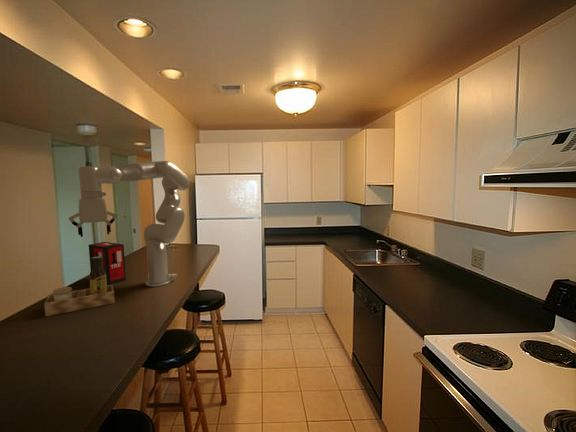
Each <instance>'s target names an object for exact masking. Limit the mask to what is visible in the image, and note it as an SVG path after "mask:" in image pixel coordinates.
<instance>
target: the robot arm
mask: <svg viewBox="0 0 576 432" xmlns="http://www.w3.org/2000/svg"><path fill="white" fill-rule="evenodd" d="M78 178H79V179H78V180H79V188H80V198H81V199H80V198H79V200H78V212H77V213H75V214H73V215H71V216H69V217H68V220H69V222H71V224H72V225H73V226H75V227H76V228H77V232H78V236H80V238H82V237H83V236H84V233H83V224H84V223H85V224H86V223H87V224H88V223H100V222H101V223H102V222H104V223H105V224H106V234H107V235H110V233H111V232H112V230H111V229H112V228H111V225H112V224H113V223H114V222H115V220H116V219H117V217H118V216H117V215H118V214H115V213H113V212H110V211H108V210H107V203H106V199H105V198H104V197H105V196H107V193H106V192H103V189H102V185H103V184H116V183H119V182H137V181H145V180H146V181H147V180H151V179H161V178H162V179H161V185H162V187H163V191H164V198H163V199H162V201H161V203H160V206H159V207H158V209H157V211H156V214H155V220H156V221H157V222H158V223H151V224H148V225H147V226H146V227H145V228H144V230H143V238H144V242H145V246H146V247H145V248H146V260H147V276H148V280H147V279H146V281H145V282H144V283H145V285H146V286H148V287H162V286H165V285H168V284H170V283H172V278H177V277H178V273H169V271H168V256H167V254H168V253H167V252H168V251H167V245H166V244H171V243H173V242H174V241H175V240H176V238H177V236H178V235H179V232H180V230H181V228H182V226H183V224H184V222H185V217H186V215H185V211H184V209H183V208H181V207H180V204H181V196H180V192H179V191H186V190H187V189H189V188H190V185H191V181H190V178H189V177H188V175H187V174H186V173H185V172H184V171H182V170H181V169H180V168H179V167H178V166H177V165H175V164H174V163H173V162H171V161H169V160H163V161H162V160H160V161H159V160H158V161H146V162H144V161H143V162H133V163H132V162H131V163H126V164H119V165H108V166H92V165H90V166H87V165H84V166H80V167H79V168H78ZM108 216H111V219H110V220H108ZM77 218H78V219H79V222H77V221H75V219H77Z"/></svg>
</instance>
